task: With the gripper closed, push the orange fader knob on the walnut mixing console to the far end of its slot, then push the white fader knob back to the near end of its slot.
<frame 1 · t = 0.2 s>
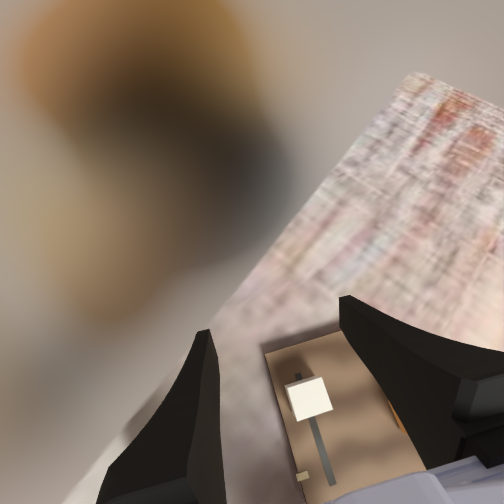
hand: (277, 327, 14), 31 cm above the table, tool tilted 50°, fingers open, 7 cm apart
white fader: (307, 396, 36), point 4 cm above the table, slide at 9.0 cm
console: (348, 401, 39), on the table
orange fader: (418, 413, 35), point 4 cm above the table, slide at 3.0 cm
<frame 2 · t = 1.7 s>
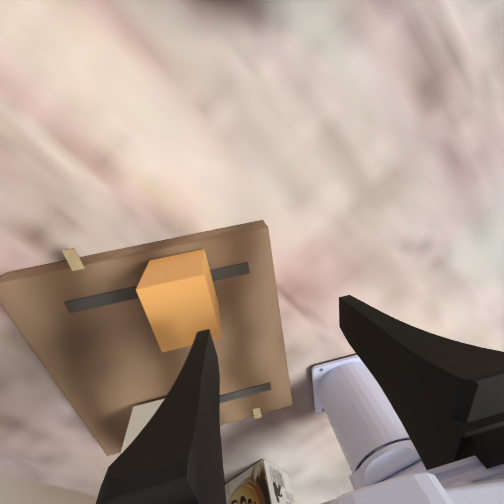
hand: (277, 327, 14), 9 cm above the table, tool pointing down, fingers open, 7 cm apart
white fader: (159, 439, 23), point 4 cm above the table, slide at 9.0 cm
console: (177, 343, 25), on the table
orange fader: (184, 297, 18), point 4 cm above the table, slide at 3.0 cm
coffee box: (251, 479, 37), on the table
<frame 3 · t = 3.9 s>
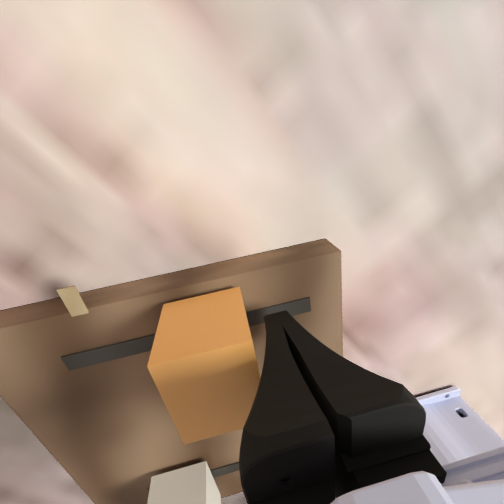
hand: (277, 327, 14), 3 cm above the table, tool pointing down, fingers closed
console: (206, 392, 19), on the table
orange fader: (213, 359, 12), point 4 cm above the table, slide at 3.9 cm, touching gripper
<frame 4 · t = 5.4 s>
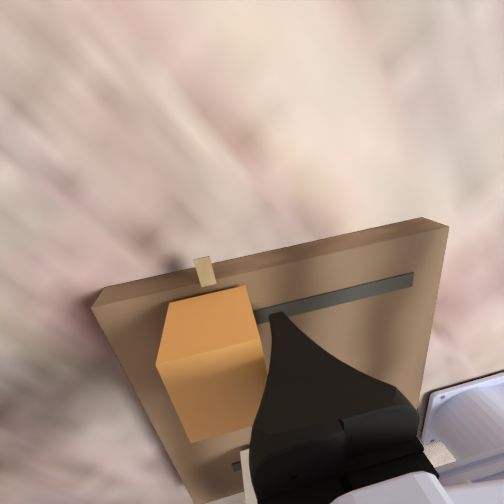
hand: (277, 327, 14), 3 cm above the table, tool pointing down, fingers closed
white fader: (276, 493, 18), point 4 cm above the table, slide at 9.0 cm
console: (289, 370, 20), on the table
orange fader: (220, 358, 12), point 4 cm above the table, slide at 10.1 cm, touching gripper
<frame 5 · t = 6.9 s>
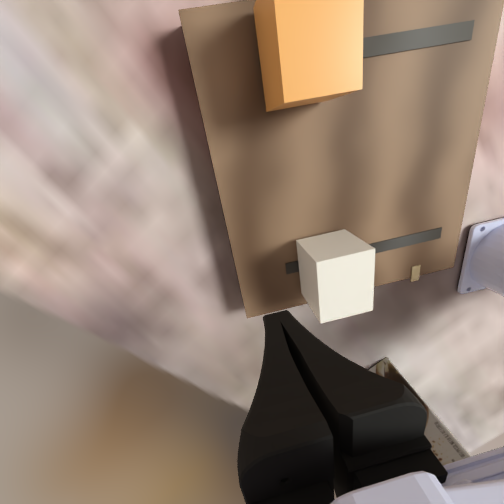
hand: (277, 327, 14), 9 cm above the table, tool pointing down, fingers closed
white fader: (333, 274, 19), point 4 cm above the table, slide at 9.0 cm
console: (341, 171, 21), on the table
orange fader: (305, 46, 13), point 4 cm above the table, slide at 10.0 cm
coffee box: (366, 386, 33), on the table
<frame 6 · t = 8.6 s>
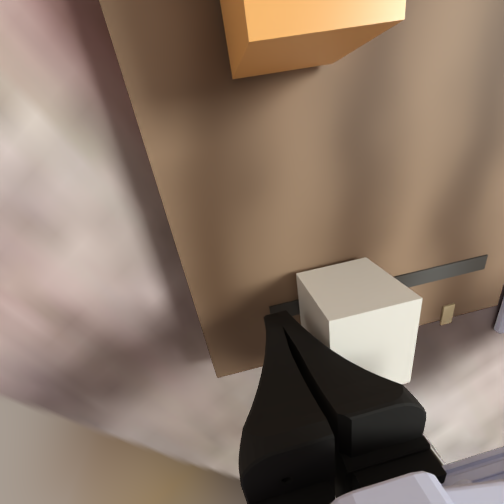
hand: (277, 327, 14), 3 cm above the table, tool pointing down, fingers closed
white fader: (350, 325, 13), point 4 cm above the table, slide at 8.3 cm, touching gripper
console: (349, 176, 14), on the table
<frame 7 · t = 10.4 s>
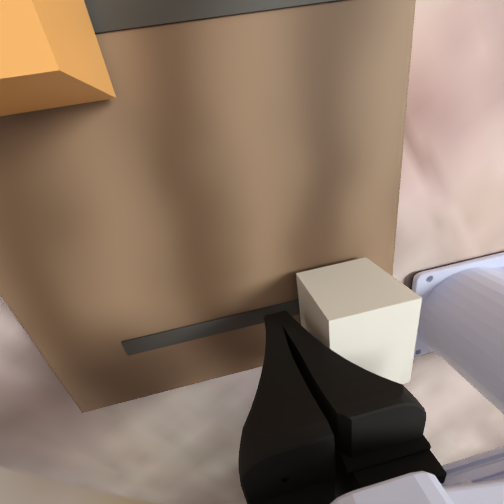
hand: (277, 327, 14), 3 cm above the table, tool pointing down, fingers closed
white fader: (350, 325, 13), point 4 cm above the table, slide at 0.0 cm, touching gripper
console: (204, 205, 14), on the table
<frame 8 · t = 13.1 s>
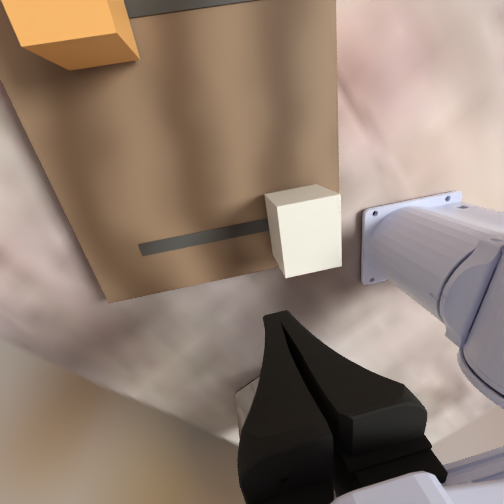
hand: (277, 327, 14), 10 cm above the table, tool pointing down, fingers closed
white fader: (301, 228, 18), point 4 cm above the table, slide at 0.0 cm
console: (198, 145, 19), on the table
coffee box: (278, 383, 31), on the table
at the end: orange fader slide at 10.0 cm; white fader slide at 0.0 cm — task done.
